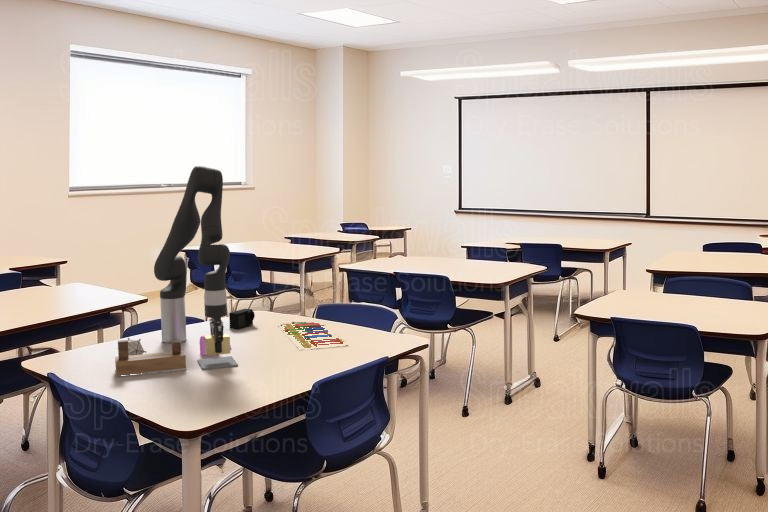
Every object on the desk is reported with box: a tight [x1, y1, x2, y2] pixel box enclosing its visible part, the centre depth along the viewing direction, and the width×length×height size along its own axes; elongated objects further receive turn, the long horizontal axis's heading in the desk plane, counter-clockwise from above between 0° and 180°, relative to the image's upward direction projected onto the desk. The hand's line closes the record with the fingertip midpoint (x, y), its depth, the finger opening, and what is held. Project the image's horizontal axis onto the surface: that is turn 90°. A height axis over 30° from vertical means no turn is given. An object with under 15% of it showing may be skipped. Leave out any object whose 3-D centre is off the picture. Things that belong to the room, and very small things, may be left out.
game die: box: [117, 337, 147, 356], centre depth 259 cm, size 9×8×10 cm
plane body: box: [114, 339, 188, 377], centre depth 247 cm, size 7×22×11 cm, turn 112°
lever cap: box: [204, 333, 231, 356], centre depth 255 cm, size 4×8×7 cm, turn 112°
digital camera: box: [228, 308, 255, 331], centre depth 313 cm, size 10×5×7 cm, turn 152°
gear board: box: [282, 321, 345, 348], centre depth 298 cm, size 45×2×19 cm
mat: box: [196, 355, 239, 371], centre depth 256 cm, size 12×12×1 cm
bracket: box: [199, 334, 232, 357], centre depth 273 cm, size 13×6×7 cm, turn 156°
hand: (217, 350), depth 255 cm, fingers closed on lever cap, 4 cm apart
